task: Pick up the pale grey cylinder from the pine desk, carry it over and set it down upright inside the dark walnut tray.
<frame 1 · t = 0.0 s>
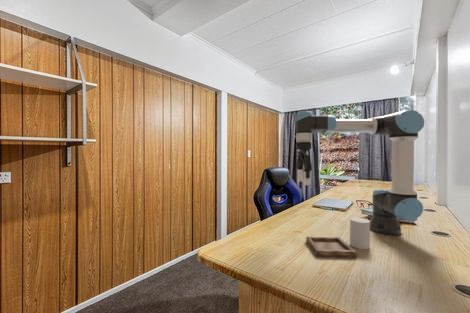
hand: (303, 183, 114), 28 cm above the table, fingers open, 13 cm apart
pale grey cylinder: (359, 245, 104), on the table
tray: (329, 249, 100), on the table
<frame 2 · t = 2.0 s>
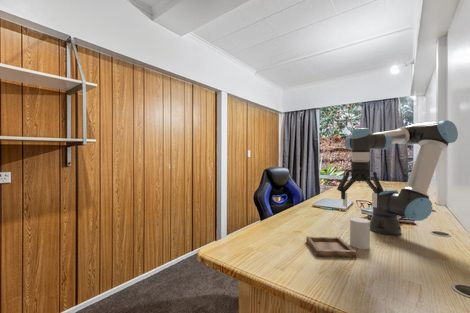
hand: (359, 206, 104), 18 cm above the table, fingers open, 13 cm apart
nothing on the table moved.
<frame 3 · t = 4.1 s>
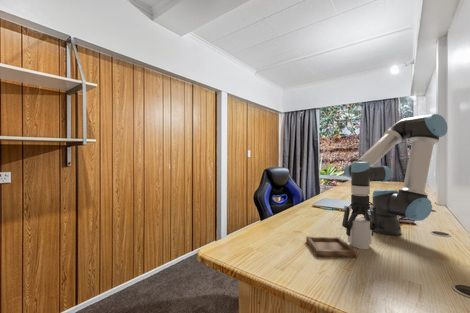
hand: (359, 242, 104), 1 cm above the table, fingers closed on pale grey cylinder, 8 cm apart
pale grey cylinder: (359, 245, 104), on the table, touching gripper
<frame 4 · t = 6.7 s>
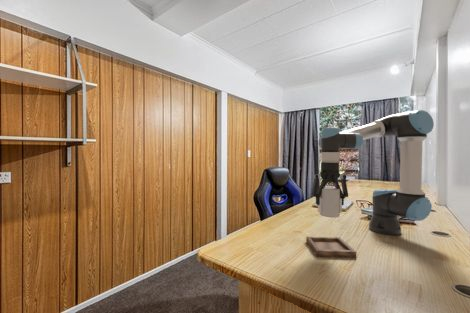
hand: (329, 212, 100), 17 cm above the table, fingers closed on pale grey cylinder, 8 cm apart
pale grey cylinder: (329, 215, 100), point 15 cm above the table, touching gripper
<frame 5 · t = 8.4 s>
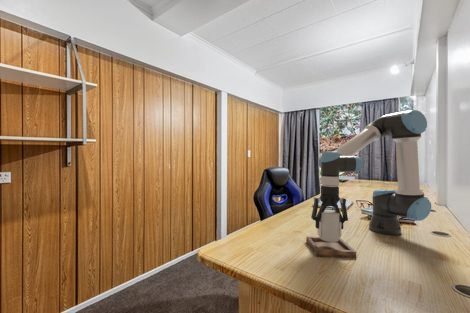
hand: (329, 235, 100), 6 cm above the table, fingers closed on pale grey cylinder, 8 cm apart
pale grey cylinder: (329, 238, 100), point 5 cm above the table, touching gripper
when the fingers open (3 cm above the table, at t = 9.5 s): pale grey cylinder stays where it is, resting on tray.
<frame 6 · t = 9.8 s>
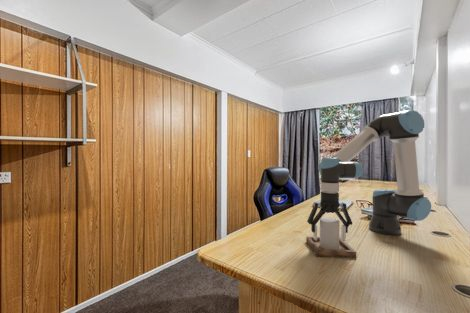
hand: (329, 239, 100), 4 cm above the table, fingers open, 12 cm apart
pale grey cylinder: (329, 247, 100), point 1 cm above the table, touching tray
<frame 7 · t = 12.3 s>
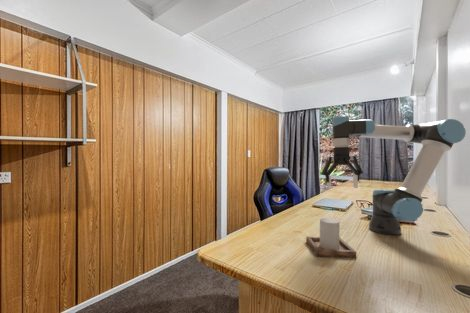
hand: (342, 188, 114), 26 cm above the table, fingers open, 13 cm apart
nothing on the table moved.
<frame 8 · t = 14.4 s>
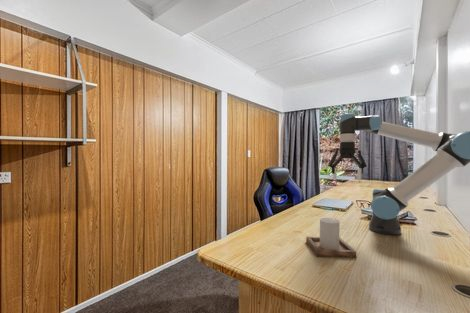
hand: (347, 179, 124), 29 cm above the table, fingers open, 13 cm apart
nothing on the table moved.
at the end: pale grey cylinder inside the target area on the tray (0.0 cm from its centre), point 0.8 cm above the tray's base; pale grey cylinder touching tray; pale grey cylinder tilted 0° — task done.
